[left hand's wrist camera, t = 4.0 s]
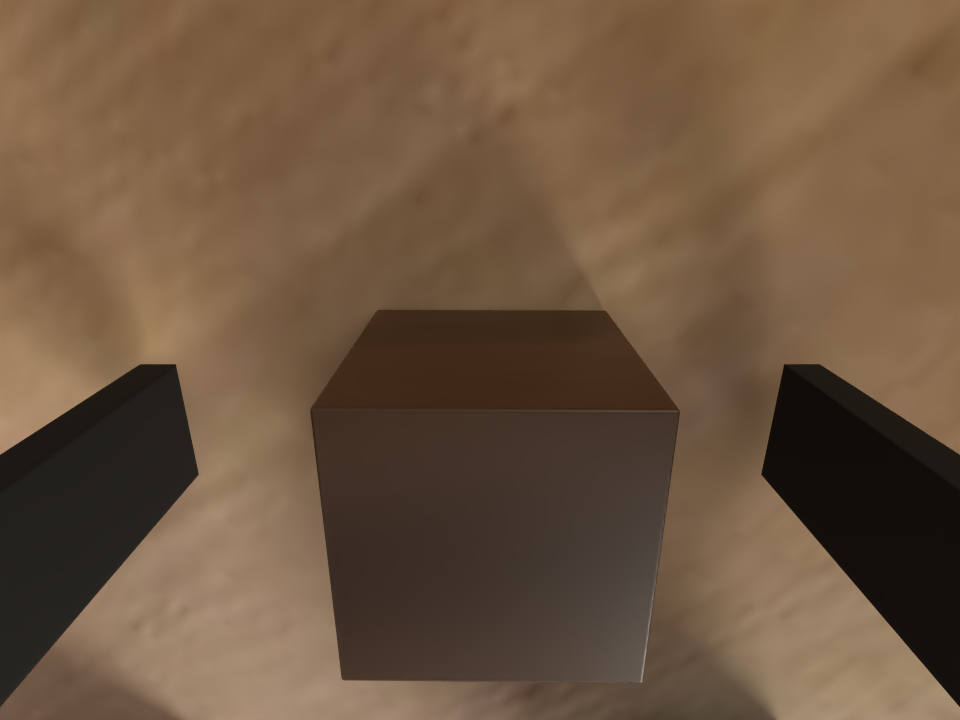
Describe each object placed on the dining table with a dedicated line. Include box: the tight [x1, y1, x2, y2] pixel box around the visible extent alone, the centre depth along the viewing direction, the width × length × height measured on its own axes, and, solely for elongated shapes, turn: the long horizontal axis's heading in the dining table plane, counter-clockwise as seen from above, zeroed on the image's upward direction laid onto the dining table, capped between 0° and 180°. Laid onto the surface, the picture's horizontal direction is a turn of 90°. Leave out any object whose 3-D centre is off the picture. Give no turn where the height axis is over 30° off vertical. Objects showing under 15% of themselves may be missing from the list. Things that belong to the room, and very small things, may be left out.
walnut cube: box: [310, 310, 680, 683], centre depth 11 cm, size 5×5×5 cm
